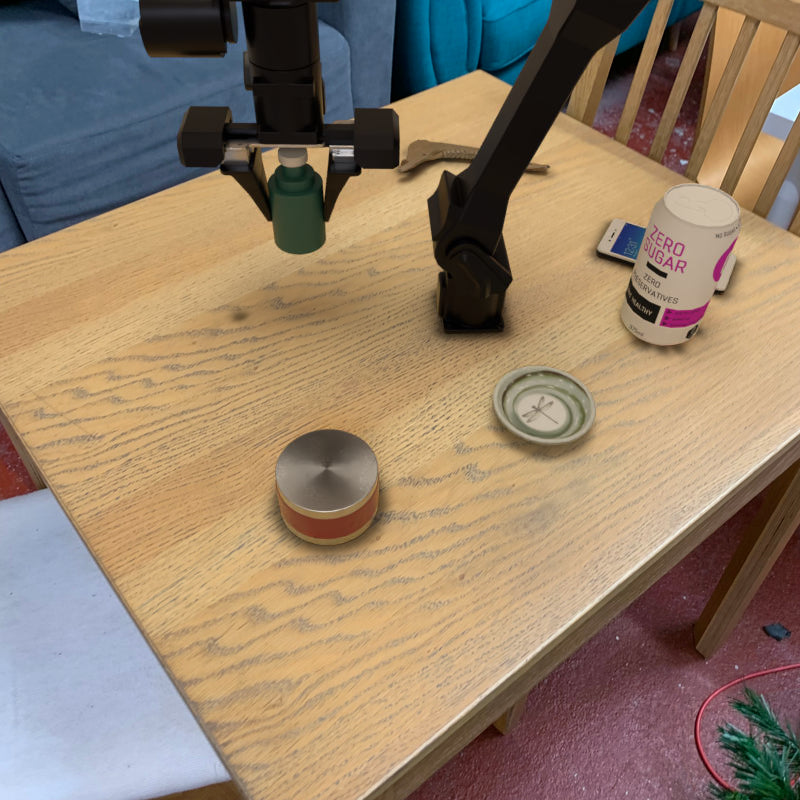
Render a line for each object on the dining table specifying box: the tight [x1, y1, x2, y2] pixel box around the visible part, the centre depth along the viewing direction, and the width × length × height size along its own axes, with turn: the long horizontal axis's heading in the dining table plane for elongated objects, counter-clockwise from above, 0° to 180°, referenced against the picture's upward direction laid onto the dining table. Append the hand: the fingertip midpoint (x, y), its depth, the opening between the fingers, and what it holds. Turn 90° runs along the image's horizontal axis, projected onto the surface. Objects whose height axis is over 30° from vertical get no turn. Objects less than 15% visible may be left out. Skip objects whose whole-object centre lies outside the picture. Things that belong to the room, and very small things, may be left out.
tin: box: [274, 428, 380, 546], centre depth 64 cm, size 8×8×5 cm
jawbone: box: [396, 139, 551, 173], centre depth 102 cm, size 9×20×2 cm, turn 99°
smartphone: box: [595, 218, 737, 295], centre depth 89 cm, size 8×1×15 cm
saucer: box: [491, 365, 597, 446], centre depth 72 cm, size 10×10×2 cm
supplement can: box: [619, 182, 742, 346], centre depth 77 cm, size 8×8×15 cm
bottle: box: [267, 148, 327, 256], centre depth 71 cm, size 5×5×10 cm
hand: (298, 219), depth 73 cm, fingers closed on bottle, 5 cm apart
